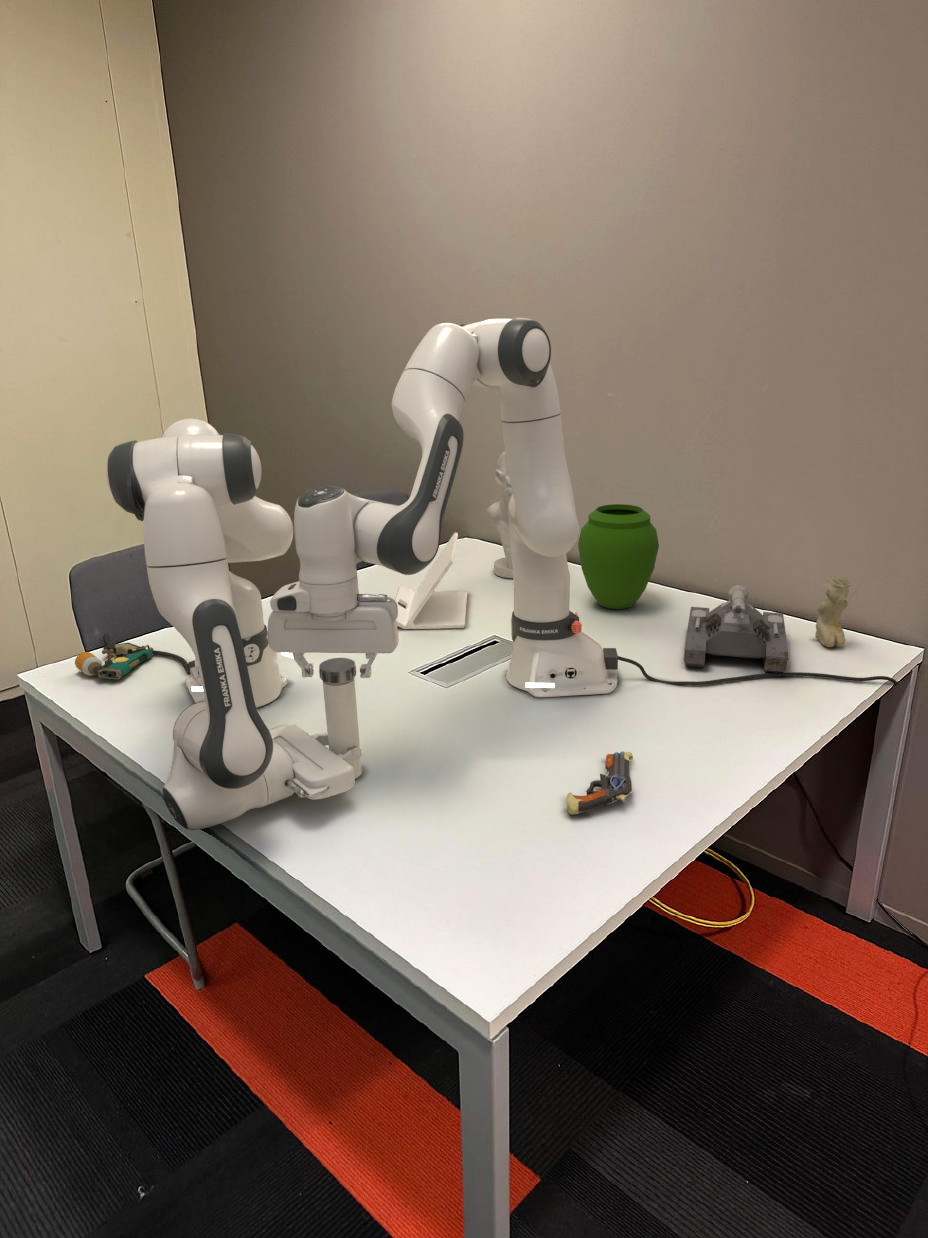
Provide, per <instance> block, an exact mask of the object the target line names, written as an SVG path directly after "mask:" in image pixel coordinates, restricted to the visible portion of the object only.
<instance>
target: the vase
mask: <svg viewBox="0 0 928 1238" xmlns="http://www.w3.org/2000/svg"><path fill="white" fill-rule="evenodd" d="M587 516H588V517H587V518H588V521H587V522H586V523H585V524H584V525H583V526H582V527H581V529H580V532H579V537H578V541H577V546H578V554H579V562H580V569H581V571H582V574H583V577H584V580H585V583H586V585H587V588H588V590H589V591H590V594H592V597H593V598H594V600H595V601H596V602H597V603H598V604H599V605H600V606H602V607H604V608H606V609H609V610H625V609H628V608H630V607H632V606H634V604H636V602H638V601H639V599H640V597H641V596H642V595H643V593H644V592H645V590H646V588H647V586H648V584H649V581H650V579H651V577H652V574H653V572H654V570H655V566H656V562H657V557H658V552H659V548H660V544H659V543H660V542H659V537H658V531H657V528H656V527H655V526H654V524H653V523H652V522H651V515H650V514H649V512H647V511H645V510H644V509H643V508H642V507H641V506H638V505H633V504H622V503H621V504H619V503H616V504H615V503H614V504H604V505H601V506H598V507H597V508H595V509H594V510H592V511H591V512H590V513H589V514H588V515H587Z"/></svg>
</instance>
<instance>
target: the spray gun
mask: <svg viewBox="0 0 928 1238" xmlns="http://www.w3.org/2000/svg"><path fill="white" fill-rule="evenodd" d="M111 644H112V645H109V644H108V645H106V644H105V646H103V647H102V648H103V649H102V650H101V654H102V655H105V654H106V655H107V659H106V660H105V661H104V664H103V663H102V660H101V659H99V658H98V656H96V655H94V654H93V653H92V652H89V651H82V652H80V653H79V654H78V655H76V657H75V658H74V665H75V668H76V669H77V670H79V671H80V672H81V673H83V674H85V675H86V676H89V677H90V676H92V677H93V676H97V677H98V678H100V679H110V680H120V679H121V678H122V677H124V675H127V674H128V673H129V672H131V670H132V669H134V668H135V667H137V666H138V665H140V664H141V663H143V662H144V661H147V660H148V659H150V658H151V657H153V651H154V650H155V649H154V647H152V646H151V647H150V645H149V644H146V645H141V646H140V645H136V644H134V643H131V642H123V643H111ZM117 655H119V657H117ZM120 655H122V656H120Z"/></svg>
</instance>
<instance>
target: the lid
mask: <svg viewBox="0 0 928 1238" xmlns="http://www.w3.org/2000/svg"><path fill="white" fill-rule="evenodd" d="M318 668H319V670H318V675H319V679H320V680H321V681H322V682H323V681H324V682H328V683H342V682H347V681H349V680H352V679H353V678H354V679H355V677H356V676H357V665H356V661H355V660H353V659H352V658H347V657H333V658H328V659H325V660H323V661H322V662H321V663H319V666H318Z"/></svg>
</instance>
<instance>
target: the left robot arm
mask: <svg viewBox="0 0 928 1238" xmlns="http://www.w3.org/2000/svg"><path fill="white" fill-rule="evenodd" d="M262 472H263V471H262V463H261V458H260V456H259V454H258V452H257V450H256V448H255V447H254V444H253V442H252V441H251V440H250V439H248V438H247V437H246V436H244V435H241V434H237V433H230V432H224V433H223V434H220V433H219V432H218V431H217V430H216V428H215V427H214V426H212V424H210V423H209V422H206V421H204V420H202V419H198V418H183V419H180V420H177V421H174V422H173V423H172V424H171V425H169V426H168V427H167V428H166V429H165V431H164V433H162V437H157V438H150V439H145V440H142V441H137V440H136V439H135V440H131V441H126V442H123V443H120V444H118V445H115V446H114V447H113V449H112V450H111V451H110V452H109V454H108V457H107V464H106V473H105V474H106V482H107V486H108V489H109V491H110V493H111V495H112V498H113V500H114V501H115V503H116V504H117V505H118V506H119V507H120V508H122V510H124V511H125V512H126V513H129V514H132V515H134V516H135V518H136V520H137V521H141V522H143V546H144V558H145V566H146V572H147V573H146V574H147V578H148V584H149V589H150V591H151V595H152V597H153V600H154V603H155V606H156V608H157V611H158V612H159V614H160V615H161V616H162V617H163V618H164V619H165V621H167V622H168V623H169V624H170V625H171V626H172V627H173V628H174V629H175V630H176V631H177V632H178V633H179V634H180V635H181V637H182V638H183V639H184V640H185V642H186V643H187V644H188V646H189V647H190V649H191V651H192V652H193V655H194V657H195V658H194V659H193V660H191V661H189V662H187V660H186V659H185V658H184V657H182V656H180V655H178V654H175V653H172V652H167V651H162V650H155V649H154V651H153V655H154V656H161V657H166V658H171V659H174V660H176V661H179V662H180V663H181V664H182V665H183V669H184V671H185V672H186V673H187V674H190V676H189V677H188V678H186V679H185V686H186V688H187V690H188V692H189V693H190V696H191V698H192V699H193V701H194V703H193V704H190V705H189V706H186V708H184V710H182V712H181V713H180V714H179V715H178V717H177V718H176V720H175V722H174V725H173V729H172V739H173V755H172V762H171V767H170V771H169V775H168V778H167V779H166V782H165V783H164V785H163V786H162V787H163V788H162V794H163V800H164V803H165V806H166V808H167V809H168V811H169V813H170V815H171V816H172V818H173V819H174V821H175V822H176V823H177V824H178V825H180V826H181V827H183V828H184V829H186V830H187V831H199V830H203V829H207V828H212V827H214V826H217V825H220V824H224V823H226V822H229V821H231V820H234V819H236V818H238V817H241V816H242V815H244V813H245V812H247V811H250V810H252V809H260V808H264V807H267V806H269V805H271V804H274V803H277V802H279V801H282V800H285V799H287V798H289V797H292V796H293V795H294V794H296V796H297V797H300V798H308V799H310V800H323V799H326V798H330V797H333V796H338V795H339V794H342V793H346V792H348V791H350V790H352V789H353V787H354V786H355V782H356V781H355V780H356V779H354V769H353V767H352V766H351V765H350V764H351V763H352V762H353V761H355V760H357V759H360V758H361V759H362V756H363V755H362V749H361V747H360V748H358V747H357V746H355V745H354V746H352V747H349V748H347V752H346V753H345V754H344V755H342V754H339V755H336V754H335V753H333V752H332V751H331V750H329V747H327V746H329V744H328V733H314V734H311V735H310V734H309V733H308V732H306V731H305V730H304V729H303V728H301V727H300V726H298V725H297V724H294V723H287V724H282V725H279V726H275V727H272V728H268V726H267V724H266V723H265V722H264V721H263V718H262V717H261V715H260V714H259V711H258V708H260V707H264V706H265V705H268V704H271V702H272V703H273V701H275V700H276V699H277V698H279V696H280V695H281V692H282V689H283V688H285V687H286V686H287V685H288V679H287V678H286V677H285V676H282V675H281V669H280V666H279V665H280V664H279V660H278V655H277V652H274V651H273V650H272V649H271V648H270V647H269V643H268V626H267V625H266V624H265V617H264V610H263V604H262V603H263V602H262V601H263V600H262V595H261V592H260V590H259V588H258V587H257V585H255V584H254V583H253V582H252V581H250V580H248V579H246V578H244V577H241V576H238V575H236V574H235V573H233V572H232V571H230V569H229V564H231V563H246V562H249V563H250V562H262V561H265V560H269V559H273V558H277V557H280V556H284V555H285V554H286V553H287V552H288V550H289V549H290V548H291V545H292V543H293V540H294V523H293V520H292V519H291V516H290V515H289V513H288V512H287V510H286V509H285V508H284V507H283V506H281V505H280V504H277V503H273V502H269V501H266V500H264V499H262V498H259V497H258V496H256V495H257V494H258V492H259V487H260V485H261V480H262V474H263V473H262ZM102 639H104V643H105V646H106V645H108V644H109V645H112V644H113V643H111V641H110V637H109V633H107V632H106V633H104V634H103V637H102ZM153 655H152V656H153ZM280 655H281V656H284V657H287V658H290V659H293V653H291V652H280ZM293 660H294V659H293Z"/></svg>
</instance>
